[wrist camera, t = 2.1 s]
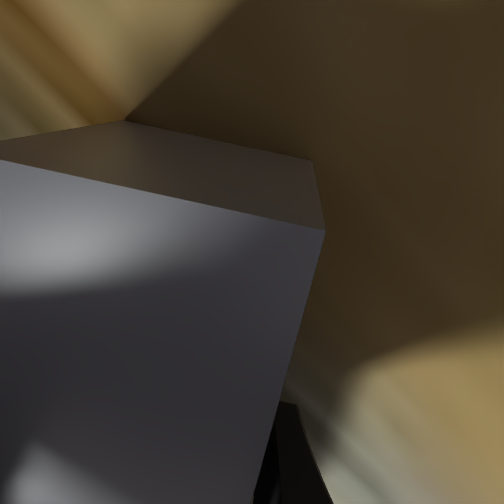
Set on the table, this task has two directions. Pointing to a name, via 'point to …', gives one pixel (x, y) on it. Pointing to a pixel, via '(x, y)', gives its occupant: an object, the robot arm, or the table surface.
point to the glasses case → (146, 312)
